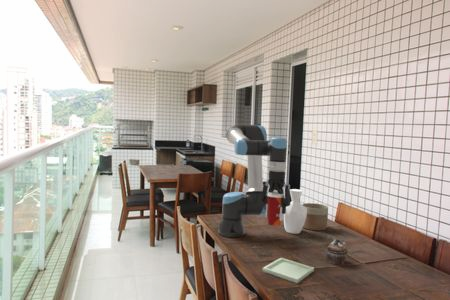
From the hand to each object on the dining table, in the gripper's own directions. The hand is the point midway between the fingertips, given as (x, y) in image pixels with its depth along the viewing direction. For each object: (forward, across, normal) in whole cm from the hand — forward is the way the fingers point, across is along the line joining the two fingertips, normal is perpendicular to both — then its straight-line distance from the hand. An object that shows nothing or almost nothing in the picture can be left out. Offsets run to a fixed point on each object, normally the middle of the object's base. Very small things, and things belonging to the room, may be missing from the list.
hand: (274, 218), depth 161 cm
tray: (+18, +14, -11) cm, 25 cm away
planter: (+19, -6, +62) cm, 65 cm away
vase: (+19, -11, +44) cm, 49 cm away
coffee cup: (+3, 0, 0) cm, 3 cm away
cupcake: (+18, +25, +15) cm, 34 cm away
